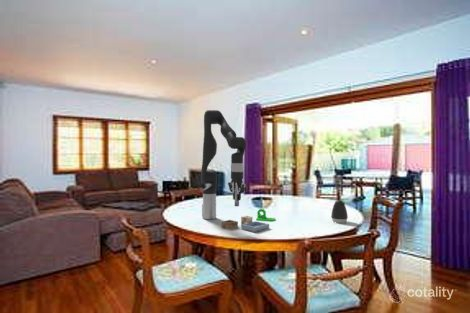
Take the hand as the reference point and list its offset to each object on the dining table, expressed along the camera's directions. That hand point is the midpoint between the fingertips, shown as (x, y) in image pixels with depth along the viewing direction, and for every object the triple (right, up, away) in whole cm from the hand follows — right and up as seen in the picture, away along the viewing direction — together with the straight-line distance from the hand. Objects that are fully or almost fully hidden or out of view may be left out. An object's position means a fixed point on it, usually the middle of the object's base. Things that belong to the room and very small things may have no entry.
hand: (236, 199), depth 174 cm
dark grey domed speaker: (+68, -19, +20) cm, 73 cm away
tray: (+11, -18, +4) cm, 22 cm away
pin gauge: (0, -4, 0) cm, 4 cm away
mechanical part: (+20, -19, +26) cm, 38 cm away
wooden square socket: (-4, -18, +7) cm, 20 cm away
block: (+6, -18, +11) cm, 23 cm away
